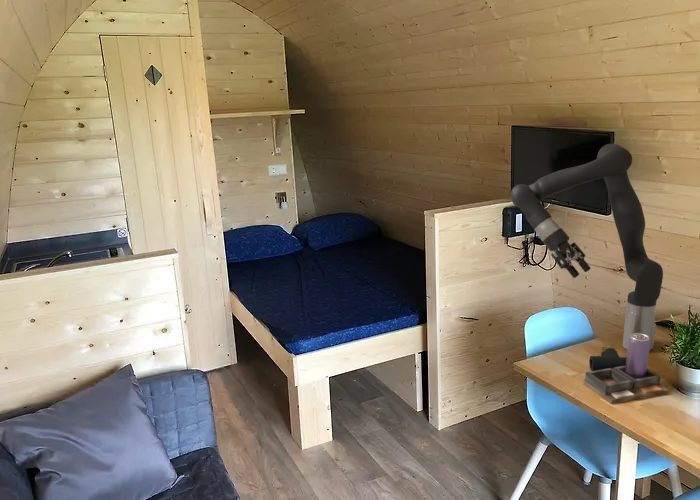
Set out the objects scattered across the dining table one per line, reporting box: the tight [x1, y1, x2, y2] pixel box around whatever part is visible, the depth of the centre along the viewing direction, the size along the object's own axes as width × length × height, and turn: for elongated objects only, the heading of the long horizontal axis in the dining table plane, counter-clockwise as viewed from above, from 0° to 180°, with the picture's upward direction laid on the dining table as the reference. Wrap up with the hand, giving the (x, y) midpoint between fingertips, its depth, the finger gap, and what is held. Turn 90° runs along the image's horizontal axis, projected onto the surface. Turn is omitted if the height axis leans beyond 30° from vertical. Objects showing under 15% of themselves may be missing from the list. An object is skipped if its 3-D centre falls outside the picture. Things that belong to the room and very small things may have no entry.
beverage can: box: [625, 333, 650, 379], centre depth 183 cm, size 6×6×15 cm
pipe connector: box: [588, 346, 627, 371], centre depth 197 cm, size 12×5×15 cm
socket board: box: [583, 366, 669, 405], centre depth 182 cm, size 20×13×4 cm, turn 105°
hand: (582, 273), depth 191 cm, fingers open, 8 cm apart
